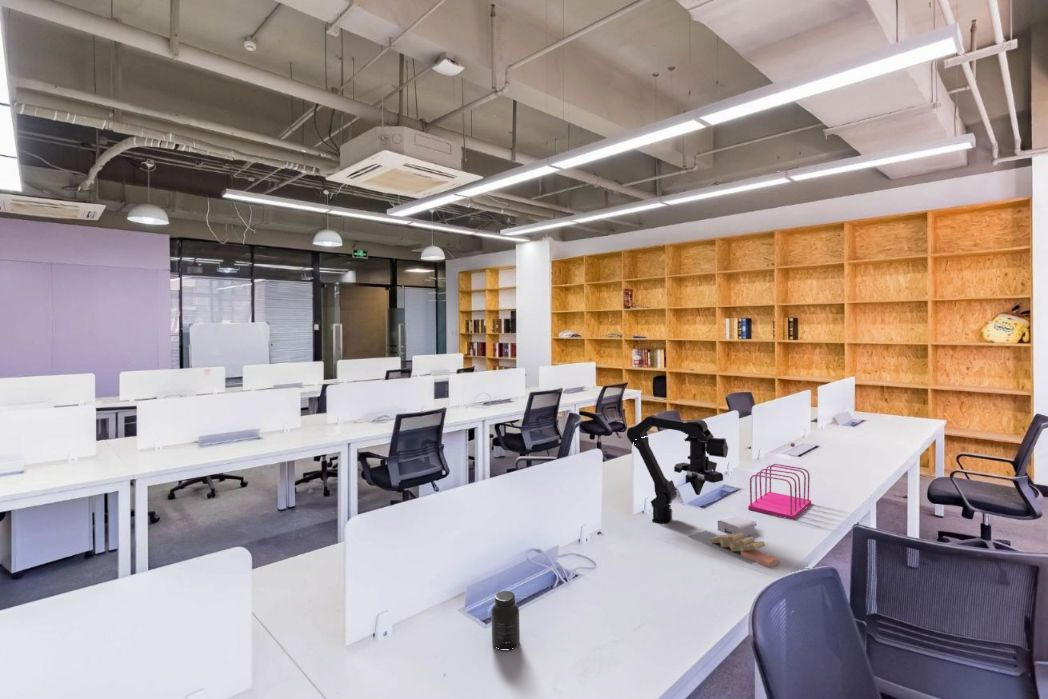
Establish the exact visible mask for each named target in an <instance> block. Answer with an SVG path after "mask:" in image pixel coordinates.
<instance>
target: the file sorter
mask: <svg viewBox="0 0 1048 699" xmlns="http://www.w3.org/2000/svg"><path fill="white" fill-rule="evenodd" d="M772 468H778V469H772ZM780 469H784V470H780ZM786 470H789V471H786ZM768 471H769V472H768ZM792 471H794V472H792ZM804 471H805V472H806V473H807V477H806V474H805V472H804ZM774 472H776V473H774ZM777 472H778V473H777ZM796 472H800V473H802V475H803V479H804V480H803V497H802V496H801V478H800V476H799V475H798V474H797V473H796ZM779 473H785V475H784V474H779ZM762 474H764V475H762ZM786 474H792V475H794V476H796V478H797V480H798V497H797V481H796V479H795V478H794V477H792V476H791V475H786ZM768 475H769V476H768ZM774 476H779V477H774ZM753 477H754V478H755V479H754V491H755V492H754V493H755V498H754V499H755V501H753V494H752V493H753V492H752V490H753V488H752V487H753V485H752V480H753ZM758 477H759V496H760V497H758V487H757V486H758ZM780 477H783V478H780ZM762 478H765V479H764V480H765V482H764V487H765V488H764V494H762ZM786 478H790V479H791V480H792V481H794V496H793V488H792V483H791V481H789V480H788V479H786ZM810 478H811V477H810V472H809V471H808V470H807V469H805V468H803V467H797V466H791V465H787V464H779V463H774V464H770V465H768V466H767V467H766V468H763V469H761V470H760V471H758V472H757V473H756V474H754V475H752V476H751V475H750V478H749V493H750V494H749V499H750V500H749V502H750V503H749V504H748V507H747V508H748V509H747V510H750V511H753V510H754V512H757V511H758V513H762V512H763V514H766V513H768V514H767V515H770V514H772V515H771V516H774V515H777V516H776V517H779V516H781V517H780V518H783V517H786V518H785V519H787V518H790V519H789V520H791V519H794V518H795V517H796V516H797V515H798V514H799V513H800V514H801V513H803V512H804V511H805V510H806V509H807V508H808V507H810V506H811V505H812V500H811V499H810ZM768 479H769V491H767V490H768V489H767V488H768V487H767V486H768V483H767V482H768ZM772 479H774V480H778V481H779V480H780V481H785V482H787V483H788V484H789V495H788V494H783V493H779V492H778V493H777V492H773V491H772ZM806 482H807V483H806ZM806 484H807V486H806ZM806 487H807V489H806ZM806 490H807V496H806ZM806 497H807V498H806ZM807 506H808V507H807ZM806 507H807V508H806ZM805 508H806V509H805ZM804 509H805V510H804ZM803 510H804V511H803ZM802 511H803V512H802ZM800 514H799V515H800ZM799 515H798V516H799ZM798 516H797V517H798ZM797 517H796V518H797ZM796 518H795V519H796ZM795 519H794V520H795Z"/></svg>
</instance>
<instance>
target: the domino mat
mask: <svg viewBox="0 0 1048 699" xmlns="http://www.w3.org/2000/svg"><path fill="white" fill-rule="evenodd" d="M717 536H719V535H717V534H715V533H713V532H711V531H708V530H704V531H700V532H696V533H694V534H690V535H687V536H686V537H687V538H690V539H691V540H695V541H696V542H699V543H701V544H704V545H705V546H708V547H710V548H712V549H715V550H717V551H719V552H721V553H724V554H726V555H729V556H731V557H734V558H736V559H738V560H740V561H743V562H745V563H747V564H750V565H752V564H755V563H756V562H755V561H752V560H750V559H747V558H745V557H743V556H741V551H734V552H731V549H730V547H721V544H720V543H711V538H714V537H717Z"/></svg>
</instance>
